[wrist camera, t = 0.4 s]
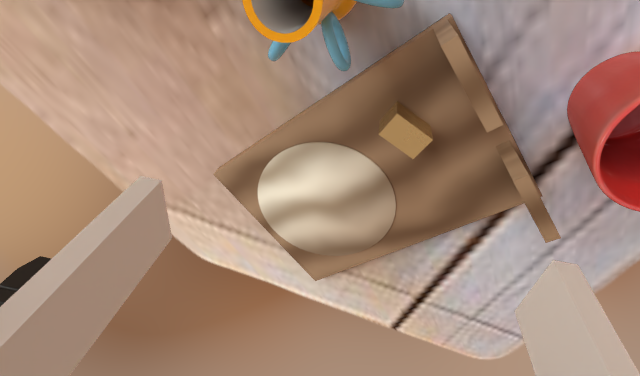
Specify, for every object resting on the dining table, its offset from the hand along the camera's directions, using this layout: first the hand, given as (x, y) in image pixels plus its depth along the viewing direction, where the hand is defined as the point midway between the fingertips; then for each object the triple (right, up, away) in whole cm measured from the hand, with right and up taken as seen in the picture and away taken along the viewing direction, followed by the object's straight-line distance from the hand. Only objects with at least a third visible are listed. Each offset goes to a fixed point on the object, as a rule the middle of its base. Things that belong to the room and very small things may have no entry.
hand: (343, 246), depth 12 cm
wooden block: (+7, +8, +21) cm, 24 cm away
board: (+4, +3, +27) cm, 28 cm away
